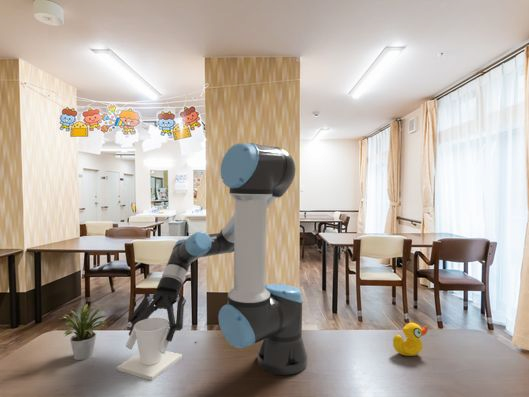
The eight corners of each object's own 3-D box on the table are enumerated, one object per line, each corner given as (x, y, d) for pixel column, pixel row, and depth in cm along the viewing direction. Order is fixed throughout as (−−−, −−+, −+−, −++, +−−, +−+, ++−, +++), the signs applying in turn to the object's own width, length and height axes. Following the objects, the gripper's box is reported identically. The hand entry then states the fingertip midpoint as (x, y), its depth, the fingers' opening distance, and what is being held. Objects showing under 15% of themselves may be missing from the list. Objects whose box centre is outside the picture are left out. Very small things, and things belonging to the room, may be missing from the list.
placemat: (182, 357, 100) (182, 354, 100) (152, 380, 88) (152, 377, 88) (149, 349, 105) (149, 346, 105) (117, 370, 93) (117, 366, 93)
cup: (157, 371, 91) (157, 333, 90) (126, 367, 93) (126, 329, 92) (174, 353, 100) (174, 319, 100) (145, 350, 102) (145, 316, 102)
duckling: (421, 349, 106) (421, 319, 106) (432, 357, 101) (432, 326, 100) (389, 351, 104) (389, 321, 104) (398, 360, 99) (399, 328, 99)
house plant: (78, 374, 91) (77, 317, 90) (43, 365, 95) (42, 311, 95) (116, 350, 104) (116, 301, 104) (84, 344, 109) (83, 296, 108)
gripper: (206, 289, 108) (184, 359, 94) (146, 284, 113) (117, 350, 99) (199, 277, 103) (175, 350, 88) (137, 273, 108) (104, 341, 93)
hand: (144, 350), depth 93 cm, fingers open, 10 cm apart
